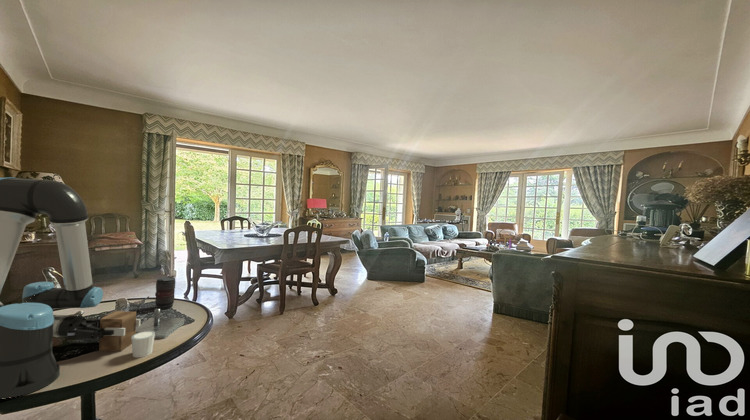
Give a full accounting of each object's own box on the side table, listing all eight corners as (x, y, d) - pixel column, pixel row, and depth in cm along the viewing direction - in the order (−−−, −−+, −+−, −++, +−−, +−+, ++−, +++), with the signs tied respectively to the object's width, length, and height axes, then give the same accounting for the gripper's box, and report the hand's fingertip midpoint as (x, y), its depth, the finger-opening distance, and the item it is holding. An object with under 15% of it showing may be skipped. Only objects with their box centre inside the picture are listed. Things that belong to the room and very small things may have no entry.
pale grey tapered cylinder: (144, 359, 104) (145, 339, 104) (125, 357, 105) (126, 338, 104) (158, 349, 111) (159, 331, 111) (141, 348, 111) (141, 330, 111)
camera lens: (164, 311, 146) (165, 281, 146) (150, 309, 148) (152, 279, 147) (178, 305, 154) (179, 277, 153) (165, 303, 156) (166, 275, 155)
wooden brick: (99, 351, 108) (100, 318, 107) (114, 341, 115) (115, 311, 115) (120, 351, 108) (122, 319, 108) (135, 341, 116) (136, 311, 115)
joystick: (128, 337, 118) (129, 314, 118) (151, 323, 132) (151, 302, 132) (165, 338, 120) (166, 315, 120) (184, 323, 134) (184, 303, 134)
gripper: (89, 324, 120) (149, 325, 122) (37, 349, 100) (111, 350, 102) (90, 306, 119) (150, 307, 122) (38, 327, 99) (111, 329, 102)
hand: (132, 327), depth 112 cm, fingers closed on wooden brick, 7 cm apart
